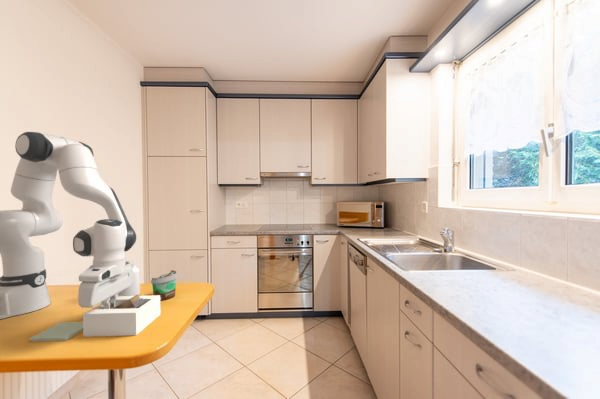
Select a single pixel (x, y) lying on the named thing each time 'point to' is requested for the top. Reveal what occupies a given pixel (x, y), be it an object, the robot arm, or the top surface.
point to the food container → (165, 285)
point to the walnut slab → (128, 303)
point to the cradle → (138, 302)
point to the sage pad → (59, 332)
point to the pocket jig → (121, 318)
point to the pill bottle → (135, 287)
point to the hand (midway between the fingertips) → (109, 308)
